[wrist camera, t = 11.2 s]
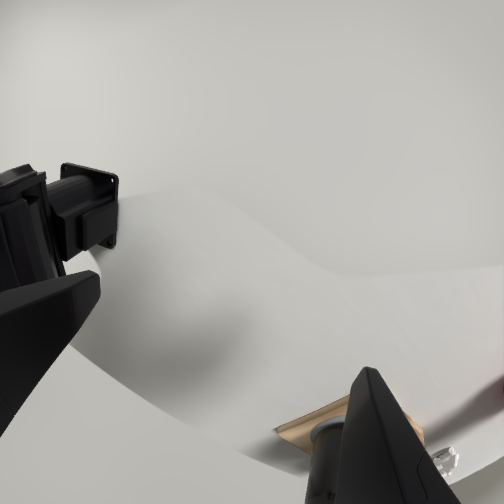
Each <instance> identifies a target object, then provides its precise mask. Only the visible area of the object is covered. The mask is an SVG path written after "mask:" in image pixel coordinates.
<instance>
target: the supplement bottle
mask: <svg viewBox="0 0 504 504" xmlns="http://www.w3.org/2000/svg"><path fill="white" fill-rule="evenodd" d="M343 427H344V422H340V423H335V424H332V425H329V426H327V427H325V428H323V429H322V430H321V431H319V432H318V434H317V435H316V437H315V439H314V444H313V451H312V458H311V465H310V472H309V479H308V486H307V491H306V498H305V504H334V503H335V496H336V489H337V481H338V473H339V465H340V455H341V445H342V435H343Z"/></svg>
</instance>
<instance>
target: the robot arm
mask: <svg viewBox="0 0 504 504" xmlns="http://www.w3.org/2000/svg"><path fill="white" fill-rule="evenodd" d="M65 167H66V168H65ZM60 175H61V176H60V180H58V181H55V182H53V183H50V184H47V185H46V180H45V179H46V172H45V171H44V172H37V171H35V170H33V169H32V167H31V166H30V165H29V164H26V165H22V166H19V167H16V168H13V169H10V170H7V171H5V172H3V173H1V174H0V437H1V436H2V434H3V433H4V431H5V430H6V428H7V427H8V425H9V424H10V422H11V421H12V419H13V418H14V415H16V413H17V412H18V410H19V409H20V407H21V406H22V405H23V403H24V402H25V400H26V399H27V397H28V396H29V395H30V393H31V392H32V391H33V389H34V388H35V387H36V385H37V384H38V382H39V381H40V380H41V378H42V377H43V376H44V374H45V373H46V372H47V370H48V369H49V368H50V366H51V365H52V364H53V362H54V361H55V360H56V359H57V357H58V356H59V354H61V352H62V351H63V350H64V348H65V347H66V346H67V345H68V343H69V342H70V341H71V340H72V338H73V337H74V336H75V335H76V333H77V332H78V331H79V329H80V328H81V326H82V325H83V323H84V322H85V320H86V319H87V317H88V315H89V314H90V312H91V311H92V309H93V308H94V306H95V305H96V303H97V302H98V300H99V298H100V295H101V290H100V277H99V275H98V274H97V273H95V272H93V271H90V270H87V271H83V272H79V273H74V274H70V275H66V273H65V269H64V266H63V262H62V260H63V261H65V262H67V261H68V260H70V259H71V258H73V257H74V256H76V255H77V254H78V253H80V252H81V251H87V250H88V249H90V248H91V247H93V246H94V245H96V244H98V245H101V246H104V247H106V248H109V249H111V248H113V247H114V246H115V245H116V230H117V209H118V203H117V200H118V184H119V178H118V176H117V175H115V174H113V173H109V172H105V171H101V170H97V169H93V168H88V167H85V166H80V165H76V164H72V163H63V164H62V165H61V174H60ZM111 179H113V182H112V180H111ZM109 241H110V242H111V244H110V242H109ZM334 504H461V503H460V501H459V500H458V498H457V497H456V496H455V494H454V493H453V491H452V490H451V489H450V487H449V486H448V484H447V483H446V481H445V480H444V478H443V477H442V475H441V474H440V472H439V471H438V469H437V468H436V466H435V464H434V463H433V461H432V459H431V458H430V456H429V454H428V452H427V451H425V447H424V446H423V444H422V442H421V441H420V439H419V437H418V436H417V434H416V432H415V431H414V429H413V427H412V425H411V424H410V422H409V420H408V419H407V417H406V415H405V414H404V412H403V411H402V409H401V407H400V406H399V404H398V402H397V401H396V399H395V397H394V396H393V394H392V393H391V391H390V389H389V388H388V386H387V385H386V383H385V381H384V380H383V378H382V377H381V375H380V373H379V372H378V370H377V369H375V368H371V367H364V368H363V369H362V370H361V372H360V373H359V375H358V376H357V378H356V379H355V381H354V382H353V384H352V386H351V390H350V396H349V401H348V407H347V412H346V417H345V422H344V427H343V435H342V445H341V455H340V465H339V473H338V481H337V489H336V496H335V503H334Z"/></svg>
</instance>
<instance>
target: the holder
mask: <svg viewBox="0 0 504 504" xmlns="http://www.w3.org/2000/svg"><path fill="white" fill-rule="evenodd" d="M349 396H350V395H348V396H346V397H344V398H342V399H340V400H338V401H336V402H334V403H332V404H330V405H328V406H326V407H324V408H321V409H319V410H317V411H315V412H313V413H311V414H308V415H306V416H304V417H301V418H299V419H297V420H294V421H292V422H290V423H287V424H285V425H282V426H280V427H278V431H277V435H279V436H281V437H282V438H284V439H285V440H287V441H289V442H290V443H292V444H294V445H295V446H297V447H298V448H300V449H302V450H303V451H305V452H307V453H309V454H310V455H312V451H313V444H314V439H315V437H316V435H317V434H318V432H319V431H321V430H322V429H323V428H325V427H327V426H329V425H332V424H335V423H340V422H345V417H346V412H347V407H348V401H349ZM404 414H405V413H404ZM405 415H406V414H405ZM406 417H407V419H408V420H409V422H410V424H411V425H412V427H413V429H414V431H415V432H416V434H417V436H418V437H419V439H420V441H421V442H422V444H423V446H424V447H425V444H424V436H423V429H422V428H421V427H420V426H419V425H418V424H417V423H416V422H414V421H413V420H412V419H411V418H410V417H409V416H408V415H406Z"/></svg>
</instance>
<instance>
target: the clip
mask: <svg viewBox="0 0 504 504" xmlns="http://www.w3.org/2000/svg"><path fill="white" fill-rule="evenodd" d="M458 458H459V454H456V452H455V450H454V448H452V447H451V448H449V450H448V451H447V452H446V453H444V454H443V455H440V459H439V458H437V457H436V458H434V464H435V465H436V466H440V464H442V466H443V468H442V469H441V470H439V469H438V470H439V472H440V474H441V475H442V477H444V476H446V477H449V476H450V475H451V471H452V470H453V469H454V468H456V466H457V462H458ZM440 460H441V461H440Z"/></svg>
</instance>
